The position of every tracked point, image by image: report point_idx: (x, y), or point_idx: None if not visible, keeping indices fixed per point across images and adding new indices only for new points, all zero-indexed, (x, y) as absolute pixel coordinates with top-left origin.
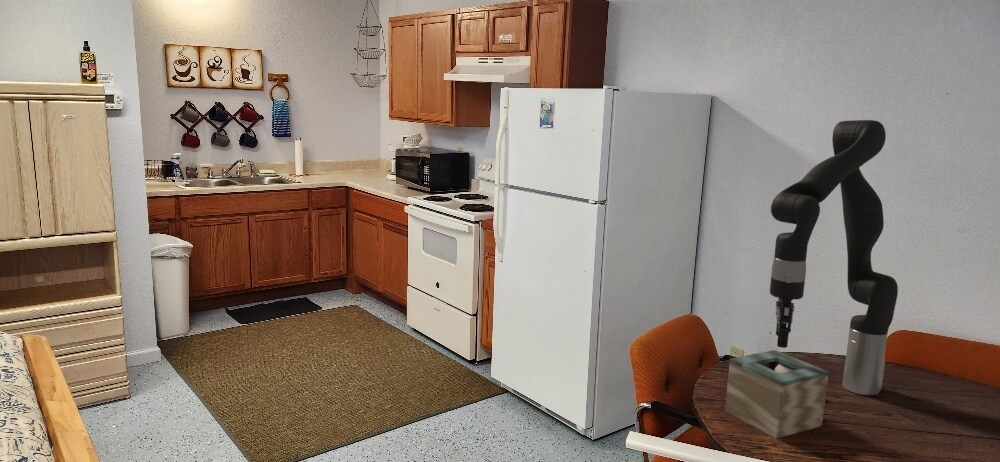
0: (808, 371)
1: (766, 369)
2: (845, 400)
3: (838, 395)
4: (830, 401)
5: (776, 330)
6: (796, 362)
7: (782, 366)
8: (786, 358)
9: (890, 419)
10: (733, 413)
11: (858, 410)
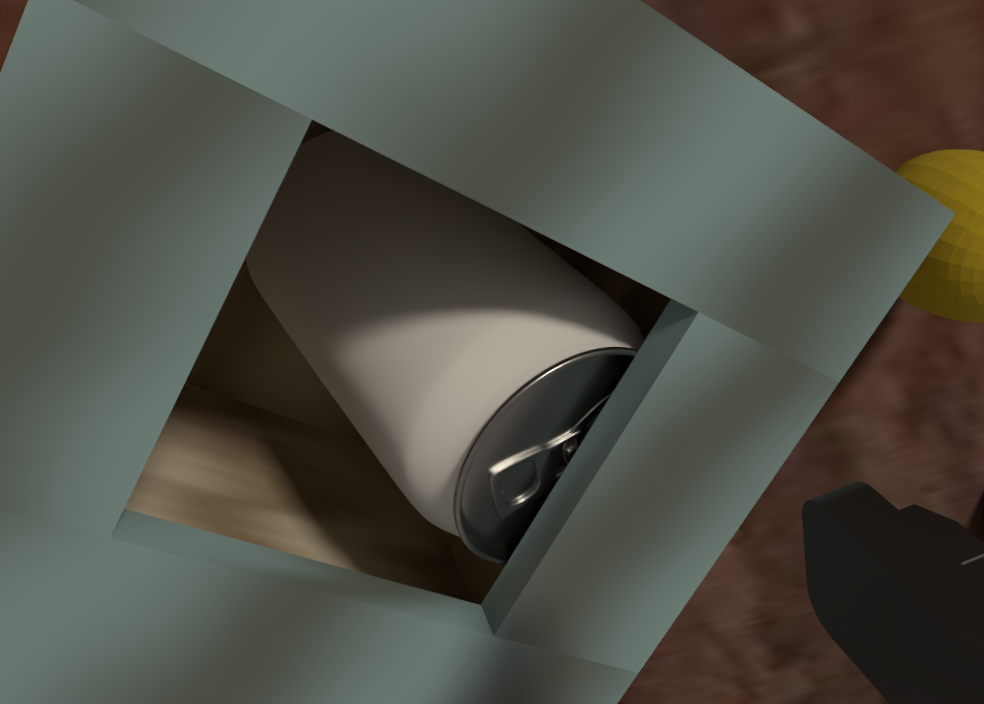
0: (430, 699)
1: (110, 367)
2: (877, 465)
3: (933, 418)
4: (826, 411)
5: (867, 553)
6: (643, 527)
7: (476, 430)
8: (715, 410)
9: (730, 678)
10: None
11: (768, 550)
